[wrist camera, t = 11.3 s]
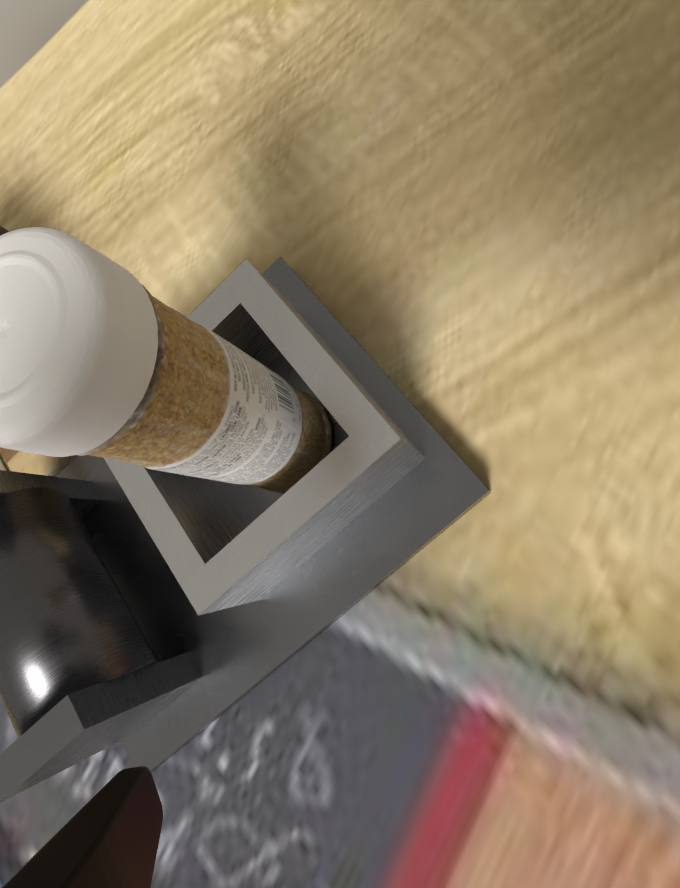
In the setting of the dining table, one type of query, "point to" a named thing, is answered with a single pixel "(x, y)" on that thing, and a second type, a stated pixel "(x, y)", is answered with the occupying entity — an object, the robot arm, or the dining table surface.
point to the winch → (208, 552)
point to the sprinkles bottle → (137, 375)
